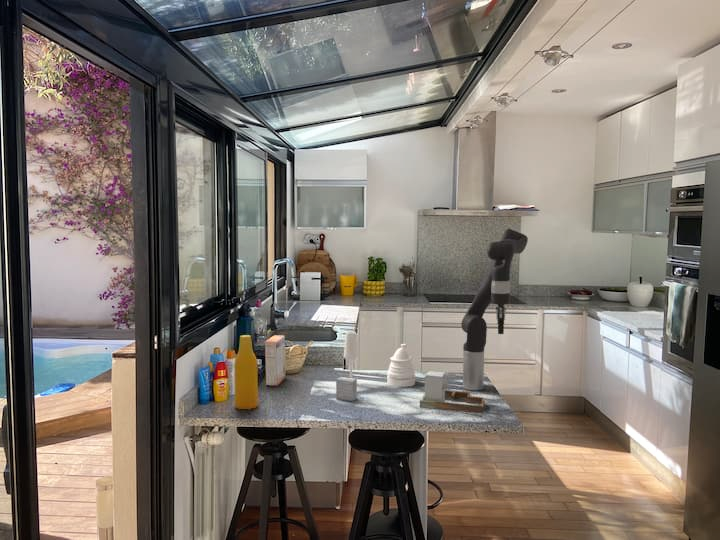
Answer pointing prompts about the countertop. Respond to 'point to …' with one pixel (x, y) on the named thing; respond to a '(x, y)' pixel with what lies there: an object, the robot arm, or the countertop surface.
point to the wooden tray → (454, 406)
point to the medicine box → (346, 389)
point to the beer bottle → (246, 375)
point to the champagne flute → (351, 349)
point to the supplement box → (435, 386)
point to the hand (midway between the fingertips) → (500, 333)
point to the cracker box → (275, 360)
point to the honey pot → (401, 369)
